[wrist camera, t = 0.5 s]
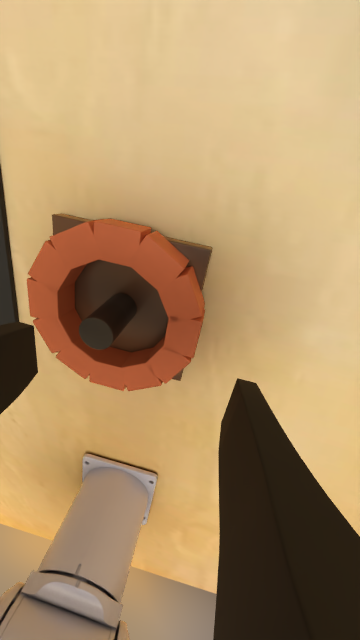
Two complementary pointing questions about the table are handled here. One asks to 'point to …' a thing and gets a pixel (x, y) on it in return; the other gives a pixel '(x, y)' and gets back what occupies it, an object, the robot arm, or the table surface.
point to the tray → (6, 270)
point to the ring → (148, 261)
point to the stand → (124, 298)
